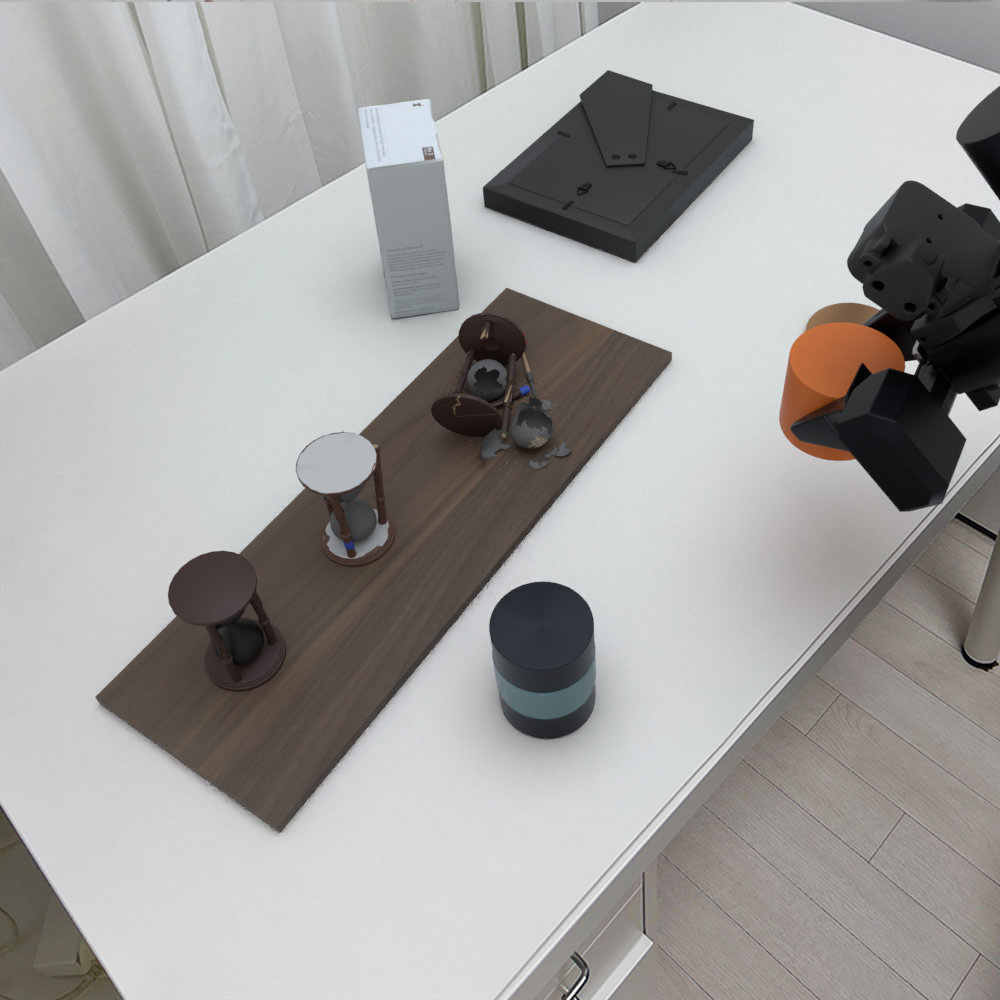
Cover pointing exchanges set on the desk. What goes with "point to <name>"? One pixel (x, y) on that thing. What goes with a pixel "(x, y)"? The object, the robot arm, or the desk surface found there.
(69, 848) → the desk surface
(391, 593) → the hourglass set
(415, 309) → the cosmetic box
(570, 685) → the navy teal banded cylinder
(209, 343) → the desk surface
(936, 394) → the robot arm
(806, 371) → the cap
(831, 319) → the coaster
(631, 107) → the picture frame
